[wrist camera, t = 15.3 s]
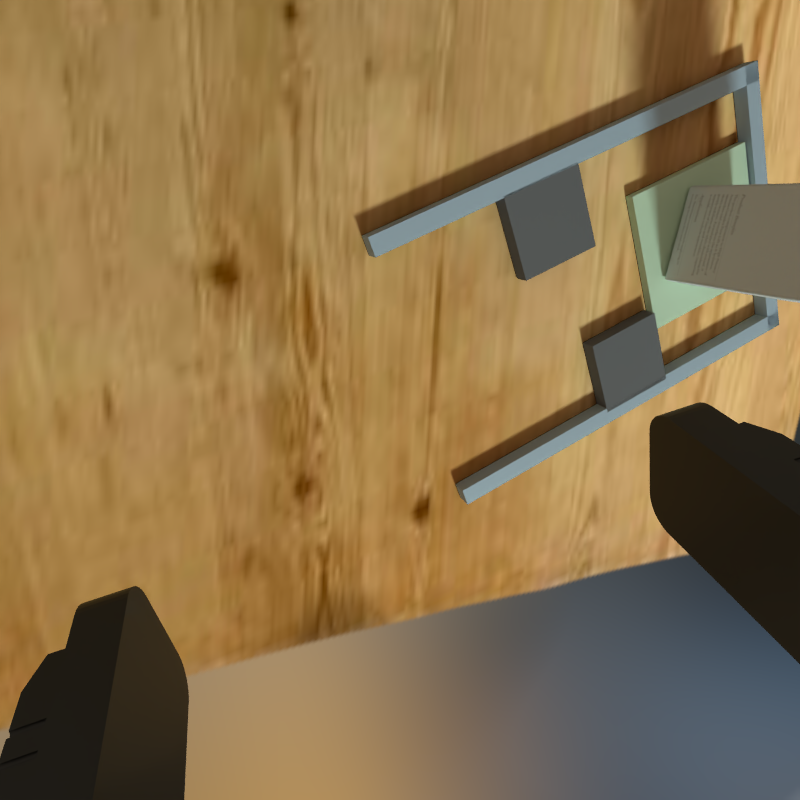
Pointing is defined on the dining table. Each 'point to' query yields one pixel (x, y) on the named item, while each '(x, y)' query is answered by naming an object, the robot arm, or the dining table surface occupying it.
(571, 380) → the dining table surface
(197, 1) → the dining table surface
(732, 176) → the pad
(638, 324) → the grey slab
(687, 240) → the skincare box
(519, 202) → the grey square block
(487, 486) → the lane rails
